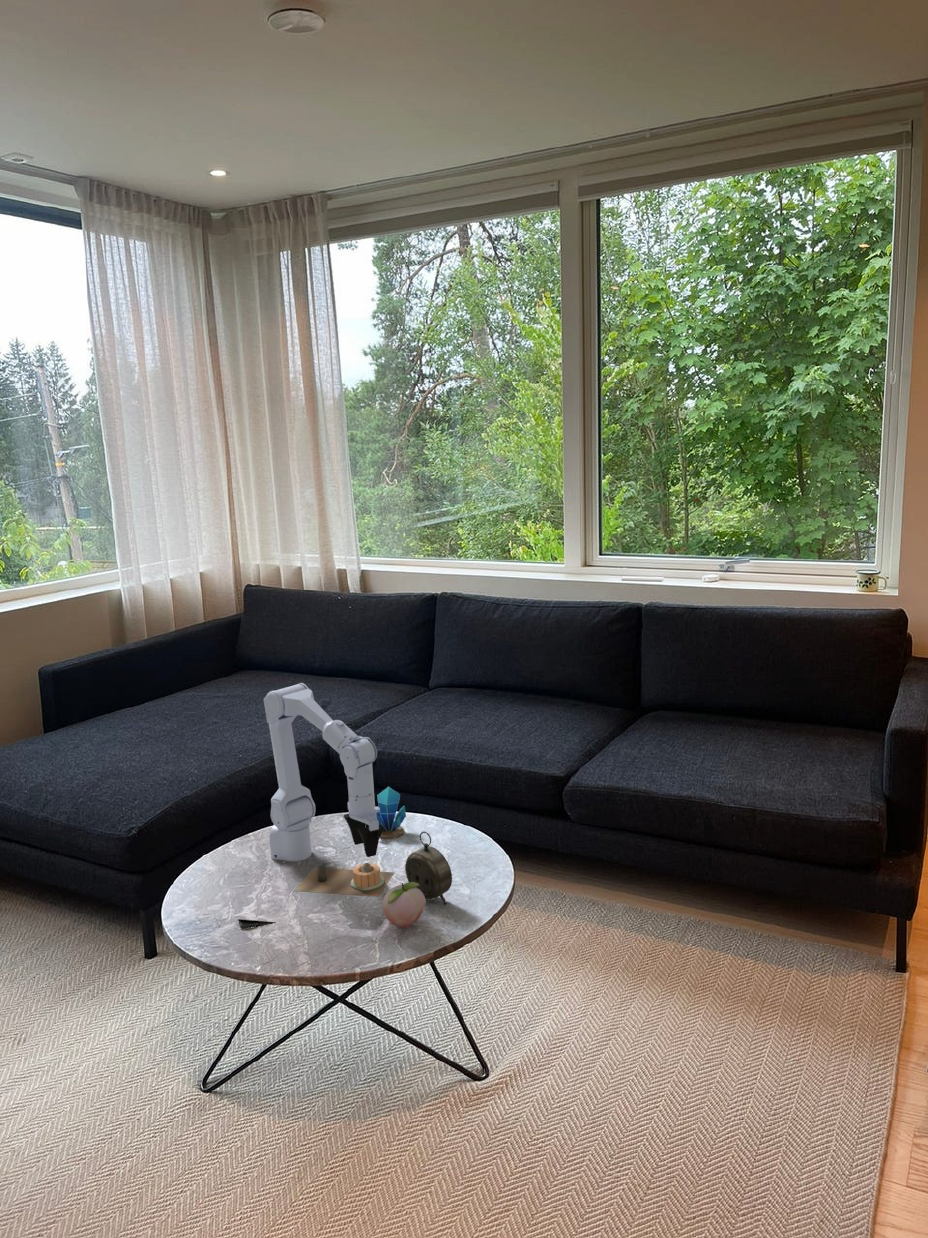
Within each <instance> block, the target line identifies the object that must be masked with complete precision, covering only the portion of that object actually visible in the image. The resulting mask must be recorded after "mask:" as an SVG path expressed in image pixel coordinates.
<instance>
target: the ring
mask: <svg viewBox="0 0 928 1238" xmlns="http://www.w3.org/2000/svg"><path fill="white" fill-rule="evenodd" d="M368 863H369V862H368ZM363 864H364V863H362V864H358V865H356V866H355V867H353V869H352V870H353V881H354V884H355V885H356V886H358V887H362V888H368V887H372V886H376V885H377V884H379V883H380V880H381V877H380V872H381V867H380V866H379V865H378V864H376V863H372V862H371V863H369V864H370V865H371V870H372V871H371V872H368V873H362V866H363Z"/></svg>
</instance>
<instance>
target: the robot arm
mask: <svg viewBox="0 0 928 1238" xmlns="http://www.w3.org/2000/svg"><path fill="white" fill-rule="evenodd" d="M263 705H264V710H265V712H264V713H265V719H266V723H267V724H268V728H269V735H270V741H271V745H272V753H273V759H274V766H275V771H276V772H275V773H276V777H277V784H278V789H277V791H276V792H275V793H274V794H273V796H272V797H271V799H270V805H271V807H270V819H271V822H272V823H273V825H272V826H271V829H270V831H269V849H270V859H271V860H278V861H279V860H280V861H281V860H282V861H286V862H301V861H305V860H307V859H308V858H311V856H312V853H313V852H312V842H311V841H312V840H311V832H310V831H311V829H310V824H311V823H312V818H314V817H315V815H316V804H315V802H314V800H313V797H312V794H311V790H310V788H307V787H306V786H304V785H302V783H301V782H302V781H301V776H300V769H299V763H298V757H297V750H296V745H295V737H294V732H293V726H292V725H293V724H292V723H293V722H294V720H295V719H296V718H297V716H302V717H303V718H304V719H305V720H306V721H308V722H309V723H311V724H312V725H313V726H315V728H317V729H319V730H320V731H321V732H322V740H324V741H325V742H326V744H327V745H329V746H330V747H331V748H332V749H333V750H334V751H335V752H337V754H339V759H340V762H341V765H343V769H344V773H345V776H346V779H347V790H348V801H347V810H348V813H345V814H343V819H344V820H345V821H346V823H347V825H348V828H349V830H350V831H349V832H350V834H351V838H352V841H353V842H354V846H358V845H361V844H363V848H364V853H365V856H366V857H367V858H370V857H374V856H377V852H378V845H379V842H380V836H381V834H382V832H383V830H384V827H383V826H382V825H381V824H380V825H379V823H378V820H377V816H376V813H377V812H380V808H379V806H376V803H375V786H374V773H373V771H374V770H373V763H374V762H375V761H376V760H377V757H378V751H377V747H376V745H375V743H374V742H373V740H372V739H371V737H368V736H364V737H363V736H361V735H358V734H356V733H355V732H354V731H353V730H352V729H351V728H350V727H349V726H347V725H346V724H345V723H344V722H343V721H342V720H340V719H334V720H333V719H332V717H330V716H329V715H328V713H327V712H326V711H325V710H324V709H323V708H322V707H321V706H320V705H319V704H318V702H317V701H315V697H314V693H313V690H312V689H310V688H309V687H308V686H307V685H306V684H305V683H303V682H299V683H297V684H294V685H291V686H287V687H283V688H279V689H276V690H270V691H269V692H267V693H266V695H265V696H264V698H263Z"/></svg>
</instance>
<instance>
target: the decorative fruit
mask: <svg viewBox="0 0 928 1238" xmlns="http://www.w3.org/2000/svg"><path fill="white" fill-rule="evenodd" d="M417 886H420V885H419V884H418V883H416V882H408V881H407V882H406V883H404V882H402V883H401V884H400V885H396V886H394V887H392V888H391V889H390V890H389V891H387V893H385V895H384V896H383V899H382V906H381V907H382V911H383V914H384V916H385V918H386V919H387V921H388V922H389V923H390V924H392V926H395V927H397V928H402V929H407V928H410V927H411V926H412V925H414V924H415V923H416V922H418V920H419V919H420V917H421V915H422V914H423V912H424V910H425V907H426V899H425V896H424V894H423V893H422V891H421V890H420V889H418V888H417Z"/></svg>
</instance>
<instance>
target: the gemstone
mask: <svg viewBox="0 0 928 1238" xmlns="http://www.w3.org/2000/svg"><path fill="white" fill-rule="evenodd" d="M376 796H377V803H378V807H379V808H380V812H377V813H376V816H377V820H378V823H379V825H380V824H381V825H382V826H383V827H384V830H383V832H382V834H381V836H380V838H381V839H385V840H387V839H388V840H390V839H397V838H399V837H402V835H404V832H405V829H404V827H403V826H401V825H402V823H403V822H404V820H405V819H406V818H407V815H406V806H405V805H403V806H402V807H401V808H400V809H399V811H398V807H399V804H400V799H401V793H399V792H398V791H396V790H394V789H393V788H391V787H390V786H387V787H386V788H385V789H383V790H381V792H380V793H378V794H377V795H376ZM397 811H398V812H397ZM380 838H379V839H380Z"/></svg>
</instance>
